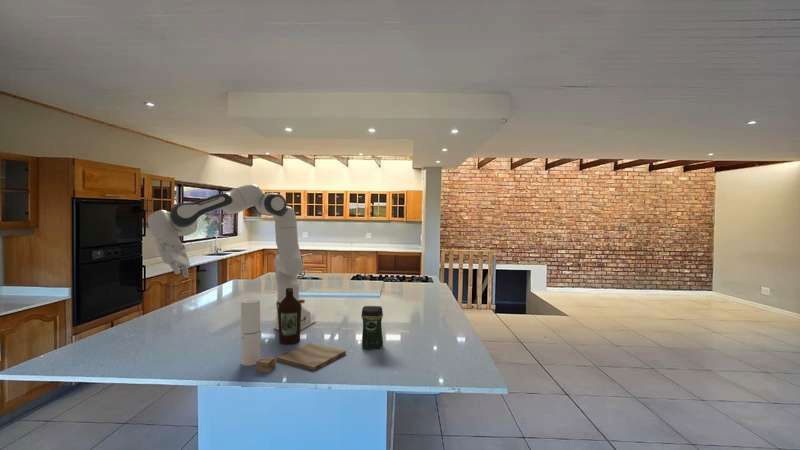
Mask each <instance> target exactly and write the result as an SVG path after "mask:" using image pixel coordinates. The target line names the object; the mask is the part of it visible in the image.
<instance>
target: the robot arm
mask: <svg viewBox="0 0 800 450" xmlns="http://www.w3.org/2000/svg"><path fill="white" fill-rule="evenodd" d="M249 208H253V210H254V211H255V212H257V213H258V214H259V215H263V216H264V215H265V216H272V217H273V219H274V232H275V234H274V235H275V244H276V247H277V251H278V252H277V253H278V254H277V255H276V256H275V258H274V259H273V266H274V273H275V278H276V285H277V287H276V289H277V290H276V291H277V293H276V294H277V295H276V296H277V300H276V316H275V323H274V328H273V329H274V330H276V331H279V323H278V306H279V304H280V303H281V301H282V300H283V299H284V298H285V297H286V288H293V296H294V298H295V299H296V300H297V301H298V302H299V303H300V305H301V324H300V331H301V330H303V329H305V328H307V327H309V326H312V325H313V324H315V323H316V320H315V319H314V318H312V315H311V311H310V310H308V309H307V308H305V306H303V305H302V304H305V303H306V299H304V298H303V299H302V298H301V299H300V283H299V280H298V275H300V274H301V273H302V271H303V269H304V263H303V260H302V255H301V250H300V246H299V239H298V238H299V236H298V222H297V215H296V212H295V210H294V208H293V207H291V206H288V204H287V201H286V199H285V197H284V196H283V195H282V194H279V193H275V192H268V193H264V192H262V190H261V188H260V187H259V185H257V184H256V183H255V184H254V183H250V184H249V183H248V184H244V185H242V186H239V187H236V188H234V189H231V190H228V191H226V192H222V193H219V194H214V195H211V196H209V197H206V198H202V199H199V200H197V201H191V202H190V201H189V202H180V203H178V204H175V205H174V206H173V207H172V208H171V209H170V211H167V210H164V209H159V210H156V211H153V212H151V214H150V215H148V217H147V224H148V228H149V230H150V233H151V236H152V237H153V238H154V240H155V241H154V242H155V245H156V248H157V250H158V253H159V254H160V256H161V259H162V261H163V263H164V264H166V265H169V266H170V268H171V269H172V271H173V273H174V274H175V275H178V274H180V273H181V272H182V277H184V278H187V277H189V276H190V274H189V268H190V267H191V263H190V260H189V257H188V255H187V252H186V251H187V248H186V247H185V245H184V244H183V243H182V241H181V239H180V237H184V236H189V235H192V234H193V233H194V232H196V231H197V228H198V220H199V218H200V217H202V216H204V215H207V214H209V213H212V212H214V211H215V212H216V211H218V210H223V211H224V213H228V214H230V215H233V214H234V215H235V214H237V213H242V212H243V211H245V210H248V209H249Z"/></svg>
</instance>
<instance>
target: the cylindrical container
mask: <svg viewBox="0 0 800 450" xmlns="http://www.w3.org/2000/svg"><path fill="white" fill-rule="evenodd" d="M240 329H241V330H240V333H241V334H240V343H241V345H240V346H241V349H240V350H241V351H240V352H241V355H240V356H241V361H240V362H241V365H242V366H247V367H249V366H250V367H251V366H254V365H255V366H256V361H258V360H260V359H261V300H260V299H259V298H248V299H247V298H246V299H243V300H241V301H240Z"/></svg>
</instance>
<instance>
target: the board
mask: <svg viewBox="0 0 800 450" xmlns="http://www.w3.org/2000/svg"><path fill="white" fill-rule="evenodd" d="M346 351H347V350H344V349H341V348H336V347H332V346H331V347H330V346H326V345H321V344H318V343H314V342H309V343H307V344H303V345H302V346H299V347H297V348H294V349H293V350H290V351H288V352H286V353H283V354H281V355H279V356H276V362H279V363H283V364H286V365H290V366H294V367H298V368H302V369H306V370H307V371H308V370H309V371H313V372H315V371H317V370H319V369H320V368H322V367H324V366H326V365H328V364H330V363H332V362H334V361H335V360H338V359H339V358H341V357H343V356H345V355H346V354H347V352H346Z"/></svg>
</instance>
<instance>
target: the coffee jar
mask: <svg viewBox="0 0 800 450" xmlns="http://www.w3.org/2000/svg"><path fill="white" fill-rule="evenodd" d="M360 317H361V319H362V334H361V347H362V348H363V349H365V350H380V349H381V348H383V346H384V340H383V339H384V337H383V331H382V330H383V327H382V319H383V317H384V313H383V306H381V305H364V306H363V307H362V310H361V316H360Z"/></svg>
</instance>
